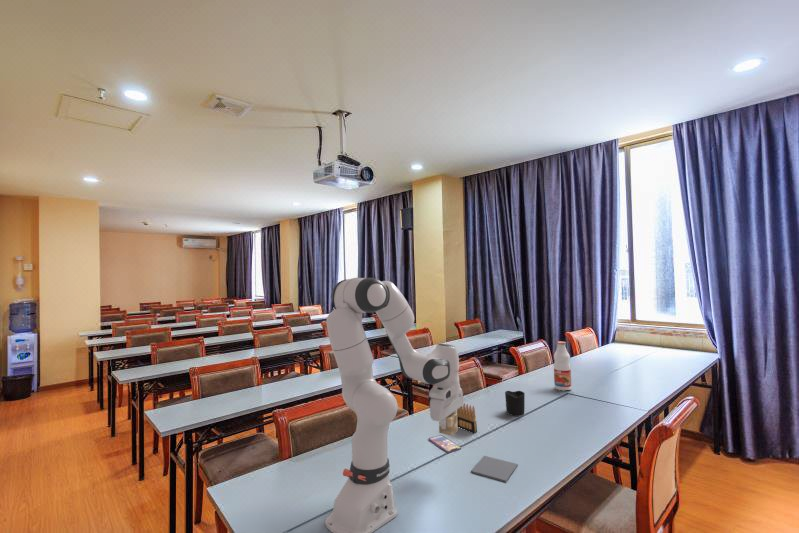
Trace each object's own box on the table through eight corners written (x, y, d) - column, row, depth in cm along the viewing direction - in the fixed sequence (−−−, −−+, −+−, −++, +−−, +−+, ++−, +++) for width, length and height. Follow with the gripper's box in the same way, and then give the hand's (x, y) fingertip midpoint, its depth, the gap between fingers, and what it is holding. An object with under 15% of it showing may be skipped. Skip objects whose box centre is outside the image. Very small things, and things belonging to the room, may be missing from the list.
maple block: (451, 435, 138) (451, 418, 138) (439, 432, 140) (438, 416, 140) (457, 430, 142) (457, 414, 142) (445, 428, 144) (445, 412, 145)
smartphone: (441, 436, 170) (462, 450, 156) (427, 440, 166) (447, 454, 153) (441, 434, 170) (462, 447, 156) (427, 438, 166) (447, 451, 153)
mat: (506, 482, 131) (506, 480, 131) (470, 472, 138) (470, 470, 138) (517, 465, 142) (517, 464, 142) (484, 457, 149) (484, 455, 149)
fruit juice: (574, 389, 228) (572, 341, 228) (566, 392, 222) (564, 344, 223) (559, 385, 235) (558, 340, 236) (551, 388, 230) (549, 342, 230)
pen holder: (518, 417, 187) (517, 397, 187) (502, 412, 194) (501, 393, 194) (528, 412, 193) (528, 392, 193) (512, 408, 200) (511, 388, 200)
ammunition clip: (477, 432, 172) (476, 405, 172) (474, 433, 170) (473, 406, 171) (458, 425, 180) (458, 400, 180) (456, 426, 179) (455, 401, 179)
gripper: (452, 379, 152) (452, 414, 151) (426, 393, 135) (427, 433, 134) (466, 382, 148) (467, 418, 148) (442, 396, 131) (443, 437, 131)
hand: (448, 425), depth 141 cm, fingers closed on maple block, 5 cm apart
